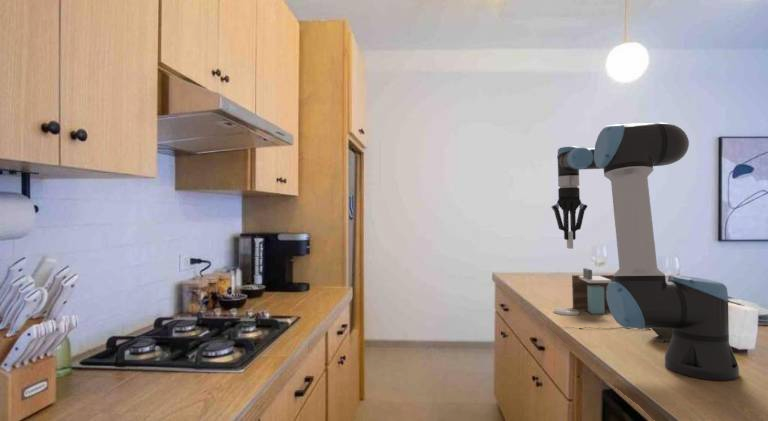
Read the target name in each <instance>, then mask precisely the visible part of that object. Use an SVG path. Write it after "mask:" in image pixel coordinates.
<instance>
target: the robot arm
mask: <svg viewBox="0 0 768 421" xmlns="http://www.w3.org/2000/svg"><path fill="white" fill-rule="evenodd" d="M689 147H690V141H689V138H688V135H687V134H686V132H685V130H684V129H682V128H681V127H679V126H677V125H675V124H671V123H668V122H651V123H650V122H649V123H648V122H647V123H619V124H613V125H612V124H611V125H606V126H604V128H602V129H601V131H600V132H599V134H598V136H597V139H596V141H595V145H594V147H593V148H591V147H590V148H587V147H578V146H575V145H574V146H563V147H559V148H558V149H557V156H556V157H557V158H556V159H557V183H558V184H557V185H558V190H557V192H558V196H557V197H558V198H557V203H554V205H551V209H552V210H553V212H554V216H555V219H556V222H557V226H558V229H559V230H560V231H562V232H563V238H564V240H565V241H566V248H567V249H568V250H569V249H571V250H572V249H574V240H576V238H577V237H576V232H577V231H579V230H581V228H582V224H583V220H584V216H585V212H586V210H587V208H588V205H587V204H584V203H582V201H581V198H580V197H581V196H580V195H581V194H580V188H579V186H580V171H581V170H601V169H603V175H604V177H605V178H606V179H608V180H609V181H610V184H611V193H612V196H611V197H612V204H613V205H612V206H613V215H614V225H615V226H614V228H615V238H616V248H617V257H618V258H617V259H618V267H619V268H618V270H617V271H616V272H615V273H614V274H613V275H614V281H613V282H611V283H609V284H608V286H607V291H606V298H607V303H608V307H609V309H608V310H609V312H610V313H611V316H612V318H614V321H615V322H616V323H617V324H618V325H619V326H621V327H623V328H627V329H629V328H630V329H639V330H643V329H652V328H672V338H671V341H670V342H669V344H668V346H667V349H666V352H665V354H664V366H666V368H667V369H669V370H671V371H673V372H676V373H677V374H681V375H684V376H686V377H687V376H688V377H690V378H691V377H692V378H695V379H696V378H697V379H703V380H707V381H732V380H733V381H734V380H735V379H738V378H739V377H740V368H739V365H738V361H737V360H736V357H735V354H734V352H733V349H732V346H731V345H730V328H729V327H730V326H729V324H730V323H729V303H730V299H729V293H728V288H727V286H726V285H725V284H724V283H722V282H720V281H716V280H712V279H711V280H710V279H706V278H700V277H695V276H685V275H670V276H671V279H670V281H671V282H667V278H666V274H665V273H664V272H663V271H661V270H660V269H659V268H658V262H657V261H658V260H657V255H656V254H657V253H656V251H657V250H656V243H655V235H654V227H653V224H654V223H653V216H652V208H651V198H650V189H649V180H648V177H649V176H650V175H651V174H652V172H653V171H654V167H662V166H667V165H668V166H669V165H672V164H675V163H677V162H678V161H680V160H681V159H682V158H684V156H685V155H686V154H687V152H688V150H689ZM559 209H561V210H562V214H563V216H562V215H561V213H560V210H559ZM578 209H579V210H578ZM577 210H578V215H576V213H577ZM569 214H570V215H569ZM561 216H562V217H563V218H562V217H561ZM576 216H577V218H576ZM569 217H570V218H569ZM562 219H563V220H562ZM569 220H570V221H569ZM569 222H570V224H569Z"/></svg>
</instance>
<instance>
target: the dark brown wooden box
mask: <svg viewBox="0 0 768 421" xmlns="http://www.w3.org/2000/svg"><path fill="white" fill-rule="evenodd" d="M579 276H583V274H571V287H572V309H575V310H578V309H580V310H582V309H584V310H585V309H587V310H585V312H586V313H587V314H589V315H593V316H594V315H596V316H597V315H599V316H600V315H602V316H603V315H604V316H606V315H607V316H608V315H609V314H608V313H606V312H605V311H604V313H605V314H592V313H590V312H588V298H587V285H599V286H602V287H604V310H605V309H606V310H609V307H608V303H607V298H606V291H607V286H608V284H609V283H588V282H586V281H584V280H581V279H579ZM592 276H602V277H604V278H607V279H610V280H611V282H613V281H614V274H592Z"/></svg>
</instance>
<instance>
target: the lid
mask: <svg viewBox="0 0 768 421" xmlns="http://www.w3.org/2000/svg"><path fill="white" fill-rule="evenodd" d="M582 271H583V272H582V275H583V276H579V279H581V280H584V281H586V282H588V283H611V280H610V279H607V278H604V277H602V276H592V275H593V270H592V269H591V268H587V267H584V268H582Z"/></svg>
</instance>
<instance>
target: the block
mask: <svg viewBox="0 0 768 421" xmlns="http://www.w3.org/2000/svg"><path fill="white" fill-rule="evenodd" d="M587 298H588V309H587V311H588V312H590V313H592V314H605V313H606V312H605V309H604V287H602V286H599V285H587ZM604 312H605V313H604Z"/></svg>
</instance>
